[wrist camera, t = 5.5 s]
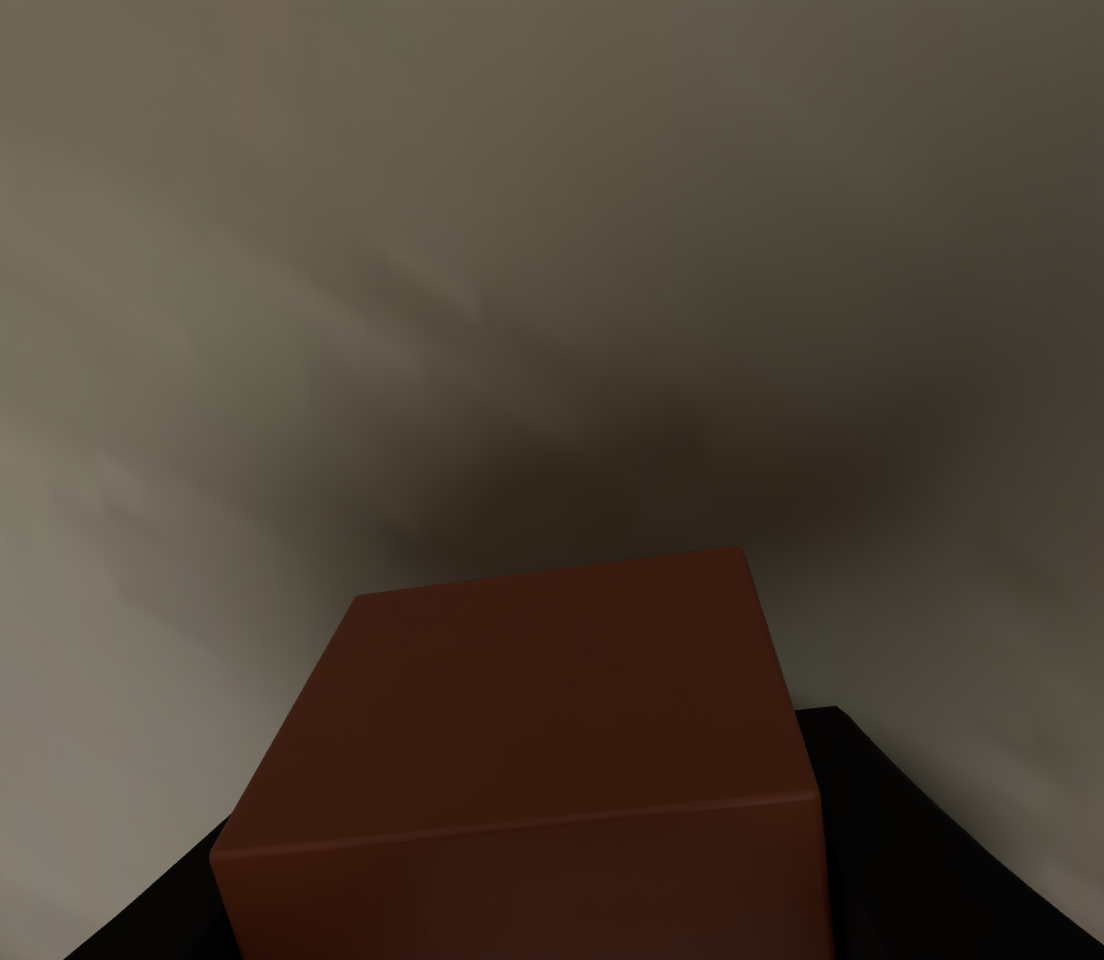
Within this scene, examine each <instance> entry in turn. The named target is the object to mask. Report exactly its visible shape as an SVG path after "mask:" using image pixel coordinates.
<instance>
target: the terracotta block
mask: <svg viewBox="0 0 1104 960" xmlns="http://www.w3.org/2000/svg"><path fill="white" fill-rule="evenodd" d="M209 861H210V864H211V867H212V870H213V873H214V876H215V879H216V882H217V885H218V888H219V891H220V894H221V897H222V900H223V903H224V906H225V909H226V912H227V915H228V918H229V921H230V924H231V927H232V930H233V933H234V936H235V939H236V942H237V945H238V948H239V951H240V954H241V957H242V960H837V954H836V944H835V934H834V924H833V914H832V904H831V893H830V883H829V873H828V863H827V853H826V843H825V832H824V822H823V812H822V802H821V793H820V790H819V787H818V784H817V781H816V778H815V774H814V771H813V768H812V765H811V762H810V759H809V755H808V752H807V749H806V746H805V743H804V740H803V736H802V733H801V730H800V727H799V724H798V721H797V718H796V714H795V711H794V708H793V705H792V702H791V699H790V695H789V692H788V689H787V686H786V683H785V680H784V676H783V673H782V670H781V667H780V664H779V661H778V657H777V654H776V651H775V648H774V645H773V642H772V638H771V635H770V632H769V629H768V626H767V623H766V619H765V616H764V613H763V610H762V607H761V604H760V600H759V597H758V594H757V591H756V588H755V585H754V581H753V578H752V575H751V572H750V569H749V566H748V562H747V559H746V556H745V553H744V550H743V549H742V547H741V546H730V547H722V548H714V549H707V550H699V551H692V552H684V553H676V554H669V555H661V556H653V557H646V558H638V559H630V560H623V561H615V562H607V563H600V564H592V565H584V566H577V567H569V568H562V569H554V570H546V571H539V572H531V573H523V574H516V575H508V576H500V577H493V578H485V579H477V580H470V581H462V582H454V583H447V584H439V585H432V586H424V587H416V588H409V589H401V590H393V591H386V592H378V593H370V594H363V595H358V596H356V597H355V598H354V600H353V601H352V603H351V605H350V607H349V608H348V610H347V612H346V614H345V615H344V617H343V619H342V621H341V622H340V624H339V626H338V628H337V629H336V631H335V633H334V635H333V636H332V638H331V640H330V642H329V643H328V645H327V647H326V649H325V651H324V652H323V654H322V656H321V658H320V659H319V661H318V663H317V665H316V666H315V668H314V670H313V672H312V673H311V675H310V677H309V679H308V680H307V682H306V684H305V686H304V687H303V689H302V691H301V693H300V694H299V696H298V698H297V700H296V701H295V703H294V705H293V707H292V708H291V710H290V712H289V714H288V715H287V717H286V719H285V721H284V722H283V724H282V726H281V728H280V730H279V731H278V733H277V735H276V737H275V738H274V740H273V742H272V744H271V745H270V747H269V749H268V751H267V752H266V754H265V756H264V758H263V759H262V761H261V763H260V765H259V766H258V768H257V770H256V772H255V773H254V775H253V777H252V779H251V780H250V782H249V784H248V786H247V787H246V789H245V791H244V793H243V794H242V796H241V798H240V800H239V802H238V803H237V805H236V807H235V809H234V810H233V812H232V814H231V816H230V817H229V819H228V821H227V823H226V824H225V826H224V828H223V830H222V831H221V833H220V835H219V837H218V838H217V840H216V842H215V844H214V845H213V847H212V849H211V851H210V857H209Z"/></svg>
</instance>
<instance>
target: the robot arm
mask: <svg viewBox="0 0 1104 960" xmlns="http://www.w3.org/2000/svg"><path fill="white" fill-rule="evenodd" d="M794 711H795V714H796V718H797V721H798V724H799V727H800V730H801V733H802V736H803V740H804V743H805V746H806V749H807V752H808V755H809V759H810V762H811V765H812V768H813V771H814V774H815V778H816V781H817V784H818V787H819V790H820V793H821V802H822V812H823V822H824V832H825V843H826V853H827V863H828V873H829V883H830V893H831V904H832V914H833V924H834V934H835V944H836V954H837V960H1104V945H1103V944H1102V943H1100V942H1099V941H1098V940H1096V939H1095V938H1094V937H1092V936H1091V935H1090V934H1089V933H1087V932H1086V931H1085V930H1083V929H1082V928H1081V927H1079V926H1078V925H1077V924H1075V923H1074V922H1073V921H1072V920H1070V919H1069V918H1068V917H1067V916H1065V915H1064V914H1063V913H1062V912H1060V911H1059V910H1058V909H1057V908H1055V907H1054V906H1053V905H1052V904H1050V903H1049V902H1048V901H1047V900H1045V899H1044V898H1043V897H1042V896H1040V895H1039V894H1038V893H1037V892H1035V891H1034V890H1033V889H1032V888H1031V887H1029V886H1028V885H1027V884H1026V883H1024V882H1023V881H1022V880H1021V879H1020V878H1018V877H1017V876H1016V875H1015V874H1014V873H1013V872H1011V871H1010V870H1009V869H1008V868H1007V867H1005V866H1004V865H1003V864H1002V863H1001V862H1000V861H998V860H997V859H996V858H995V857H994V856H992V855H991V854H990V853H989V852H988V851H987V850H986V849H985V848H984V847H982V846H981V845H980V844H979V843H978V842H977V841H976V840H975V839H973V838H972V837H971V836H970V835H969V834H968V833H967V832H966V831H965V830H963V829H962V828H961V827H960V826H959V825H958V824H957V823H956V822H955V821H953V820H952V819H951V818H950V817H949V816H948V815H947V814H946V813H945V812H943V811H942V810H941V809H940V808H939V807H938V806H937V805H936V804H935V803H934V802H933V801H932V800H931V799H930V798H929V797H927V796H926V795H925V794H924V793H923V792H922V791H921V790H920V789H919V788H918V787H917V786H916V785H915V784H914V783H913V782H912V781H911V780H910V779H909V778H908V777H907V776H906V775H905V774H904V773H903V772H902V771H901V770H900V769H899V768H898V767H897V766H896V765H895V764H894V763H893V762H892V761H891V760H890V759H889V758H888V757H887V756H886V755H885V754H884V753H883V752H882V751H881V750H880V749H879V748H878V747H877V746H876V745H875V744H874V743H873V741H872V740H871V739H870V738H869V737H868V736H867V735H866V734H865V733H864V732H863V731H862V730H861V729H860V728H859V726H858V725H857V724H856V723H855V722H854V721H853V720H852V719H851V718H850V716H848V715H847V714H846V713H845V712H843V711H842V710H841V709H839V708H838V707H837V706H829V707H820V708H811V709H803V710H794ZM231 814H232V813H231ZM231 814H230V815H229V816H228V817H227V818H226V819H225V820H224V821H222V822H221V823H220V824H219V825H218V826H217V827H216V828H215V829H214V830H212V831H211V832H210V833H209V834H208V835H207V836H206V837H205V838H204V839H202V840H201V841H200V842H199V843H198V844H197V845H196V846H195V847H194V848H192V849H191V850H190V851H189V852H188V853H187V854H186V855H185V856H183V857H182V858H181V859H180V860H179V861H178V862H177V863H176V864H174V865H173V866H172V867H171V868H170V869H169V870H168V871H167V872H165V873H164V874H163V875H162V876H161V877H160V878H159V879H158V880H156V881H155V882H154V883H153V884H152V885H151V886H150V887H149V888H147V889H146V890H145V891H144V892H143V893H142V894H141V895H139V896H138V897H137V898H136V899H135V900H134V901H133V902H132V903H130V904H129V905H128V906H127V907H126V908H125V909H124V910H123V911H121V912H120V913H119V914H118V915H117V916H116V917H114V918H113V919H112V920H111V921H110V922H108V923H107V924H106V925H105V926H103V927H102V928H101V929H100V930H99V931H97V932H96V933H95V934H94V935H93V936H91V937H90V938H89V939H88V940H87V941H85V942H84V943H83V944H82V945H81V946H79V947H78V948H77V949H76V950H74V951H73V952H72V953H71V954H70V955H68V956H67V957H66V958H65V959H64V960H242V957H241V954H240V951H239V948H238V945H237V942H236V939H235V936H234V933H233V930H232V927H231V924H230V921H229V918H228V915H227V912H226V909H225V906H224V903H223V900H222V897H221V894H220V891H219V888H218V885H217V882H216V879H215V876H214V873H213V870H212V867H211V864H210V861H209V857H210V851H211V849H212V847H213V845H214V844H215V842H216V840H217V838H218V837H219V835H220V833H221V831H222V830H223V828H224V826H225V824H226V823H227V821H228V819H229V817H230V816H231Z"/></svg>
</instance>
